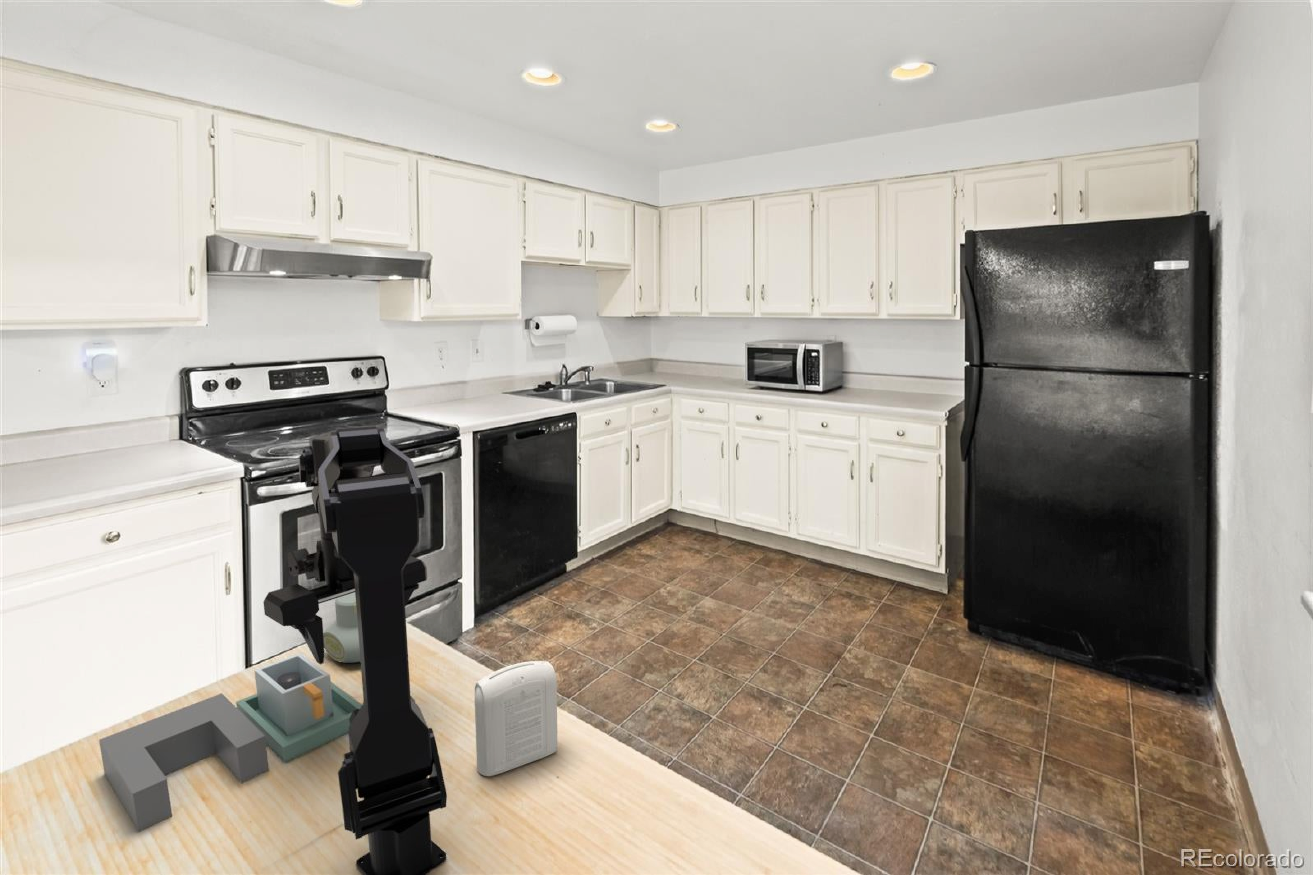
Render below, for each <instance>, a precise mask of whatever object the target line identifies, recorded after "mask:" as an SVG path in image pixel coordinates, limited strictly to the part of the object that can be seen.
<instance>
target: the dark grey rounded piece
mask: <svg viewBox="0 0 1313 875" xmlns="http://www.w3.org/2000/svg"><path fill="white" fill-rule="evenodd" d="M278 684H279V685H280V686H281V687H282V688H284V689H285V690H287V689H290V688H292V687H295V686H297V685H300V684H301V674H300V673H297V672H290V673H286V674H283V675H281V676H280V677H279V678H278Z"/></svg>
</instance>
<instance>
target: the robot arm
mask: <svg viewBox="0 0 1313 875" xmlns="http://www.w3.org/2000/svg"><path fill="white" fill-rule="evenodd" d="M308 445H309V446H303V448H302V449H301V450H302V453H301V454H300V455H299V456H298V459H299V460H298V463H299V464H298V467H299V468H298V470H299V472H298V473H299V481H300V484H303V483H304V485H305V487H306V488H312V491H311V500H312V503H313V505H314V508H315V512H316V514H318V518H319V531H320V540H317V541H316V545H315V547H316V551H315V552H313V553H309V551H308V549H307V548H306V547H304V548H300V549H296V550H293V551H289V552H287V566H288V569H289V573H290V575H291V576H292V577H297V576H301V575H303V574H305V577H306V580H307V581H309V580H312V579H314V580H315V581H316V582H318V583H322V582H324V584H325V585H322V586H318V587H316V588H312V589H308V588H306V587H305V586H302V585H300V584H299V583H296V584H293V585H290V586H286V587H282V588H279V589H275V590H272V591H269V592H267V595H266V597H265V598H264V600H263V610H264V612H263V613H264V615H265V616H266V617H268V618H269V619H271V620H273V621H274V622H276V623H278V624H279V625H280V626H282V627H292V628H293V629H295V630H297V631H299V633H300V634H301V636H302V638H303V639H304V641H305V643H306V645H307V647H308V649H309V651H310V652H311V654H312V656H313V657H314V660H315V661H316V663H317V664H320V665H323V664H324V662H325V648H324V637H323V633H324V625H323V624H324V623H323V618H322V617H321V616H320V615H317V614H318V613H319V611H320V604H323V603H326V602H329V601H333V600H335V599H336V598H339V597H342V596H345V595H348V594H351V593H354V592H355V596H356V609H357V622H358V635H359V648H360V660H361V662H360V668H361V670H360V671H361V683H362V684H361V685H362V696H363V703H362V706H361V708H360V709H357V710H353V712H352V714H351V716H350V719H349V723H350V727H349V733H348V739H349V743H348V744H349V751H348V752H346V753H343V754H342V756H343V761H342V762H341V767H340V768H339V769H338V771H337V776H338V784H339V792H340V793H339V794H340V799H341V801H340V802H341V807H342V818H343V826H344V830H345V831H349V832H351V833H352V834H354V837H355V840H356V841H357V840H360V839H362V838H363V837H365V836H368V849H369V851H367V853H365V854H363V855H361V856H360V857H358V858H357V859H356V861H355V866H356V868H357V869H358V870H359V872H360V873H361V874H362V875H428V873H430V872H431V871H433V870H434V869H435V868H437V867H439V866H440V865H441V864H443V863H444V862H446V861H447V853H446V851H444V849H442V848H441V847H440V846H438V845H437V843H435V842H434V841H433V840H432V832H431V830H432V829H431V816H430V815H431V814H430V812H433V811H436V810H438V809H444V808H446V807H447V802H448V801H447V798H448V796H447V793H448V792H447V788H446V784H445V780H444V774H443V770H442V769H443V768H442V765H441V760H440V756H439V751H438V745H437V741H436V736H435V734H434V730H433V729H432V727H428V723H427V721H426V719H425V717H424V715H423V712H422V709H421V708H420V706H419V705H418V704H417V703H416V701H415V699H414V698H413V697H412V695H411V682H410V681H411V680H410V666H409V650H408V649H409V648H408V632H407V619H406V618H407V617H406V606H407V604H408V602H409V601H410V598H411V597H412V595H413V593H414V592H415V591H416V590H418V589H420V584H419V583H422V582H425V581H427V580H428V570H427V566H426V563H425V562H424V561H423V560H422V559H420V558H417V557H415V556H412V555H413V554H414V551H415V550H416V548H417V547H418V545H419V542H420V520H423V519H424V516H425V500H424V493H423V490H422V489H423V488H422V486H421V483H420V482H421V481H420V480H419V477H418V473H417V470H416V467H415V464H414V461H413V460H412V459H411V458H410V457H408V456H407V455H406V454H404V453H403V452H401V450H400V449H398V448H396V447H395V446H393V445H392V444H391V443H389V442H388V438H387V434H386V431H385V429H384V427H378V426H377V425H369V426H368V425H366V426H355V427H354V426H353V427H340V428H335V430H334V431H329V432H328V435H318V436H310V437H309V439H308ZM379 465H380V468H381V470H382V472H384V473H385V474H375V475H374V471H375V470H374V469H375V466H379ZM358 798H359V799H362V800H359V799H358Z"/></svg>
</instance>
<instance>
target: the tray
mask: <svg viewBox="0 0 1313 875" xmlns="http://www.w3.org/2000/svg"><path fill="white" fill-rule="evenodd" d="M331 692H332V703H333V714H334V715H333V716H331V717H329V718H327V719H324V720H322V721H320V722H318V723H315V724H313V725H311V726H309V727H307V728H304V729H302V730H300V731H298V732H295V733H293V734H291V735H289V736H286V735H285V734H284V733H283V732H282V731H281V730H280V729H279V728H278V727H277V726H275V725H274V724H273V723H272V722H271V721H270V720H269V719H268V718H267V717H266V716H265V715H264V714H263V713H262V712H260V711H259V706H258V697H257V693H255V694H253V695H249V696H247V697H244V698H242V699H240V700H237V701H236V702H235V704H236V705H235V706H236V708H237V709H238V710H239V711H240V712H241V713H242V714H243V715H244V716H245V717H246V718H247V719H248V720H249V721H250V722H251V723H253V724H254V725H255V726H256V727H257V728H258V729H259V730H260V731H261V732H262V733H263V734H264V735H265V740H266V746H267V747H269V749H271V751H272V752H273V753H275V755H276V756H278V757H279V759H281V761H283V763H284V764H286V763H288V762H289V761H292V760H294V759H296V758H298V757H300V756H302V755H304V754H307V753H309V752H311V751H313V750H315V749H317V748H319V747H321V746H323V745H325V744H327V743H330V742H332V741H335V740H336V739H339V738H340V737H342V736H344V735H346V734H349V727H350V723H349V719H350V716H351V714H352V712H353V710H357V709H360V708H361V706H362V705H363V703H360V702H359V701H358V700H356V699H355V698H354V697H352V696H351V695H349V693H347V692H346V691H344V690H343V689H341V687H339V686H338V685H336V684H335V683H333V682H332V681H331Z"/></svg>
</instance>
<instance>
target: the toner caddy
mask: <svg viewBox="0 0 1313 875" xmlns="http://www.w3.org/2000/svg"><path fill="white" fill-rule="evenodd" d="M290 672H297V673H300V674H301V684H300V685H297V686H295V687H292V688H290V689H287V690H285V689H284V688H282V687H281V686H280V685H279V684H278V678H279V677H280V676H281V675H283V674H286V673H290ZM254 678H255V688H256V694H257V697H258V706H259V711H260V712H262V713H263V714H264V715H265V716H266V717H267V718H268V719H269V720H270V721H271V722H272V723H273V724H274V725H275V726H277V727H278V728H279V729H280V730H281V731H282V732H283V733H284V734H285V735H286V736H289V735H291V734H293V733H295V732H298V731H300V730H302V729H304V728H307V727H309V726H311V725H313V724H315V723H318V722H320V721H322V720H324V719H327V718H329V717H331V716H333V715H334V714H333V703H332V692H331V682H332V681H331V674H330V673H328V672H327V671H325V670H324V669H323V668H321V667H320V666H318V665H317V664H316V663H314V662H313V661H312V660H311V659H309V658H308V657H307V656H305V655H304V654H302V653H301V652H300V653H297V654H294V655H291V656H289V657H286V658H283V659H281V660H278V661H275V662H273V663H270V664H267V665H264V666H262V667H259V668H255V669H254Z"/></svg>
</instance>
